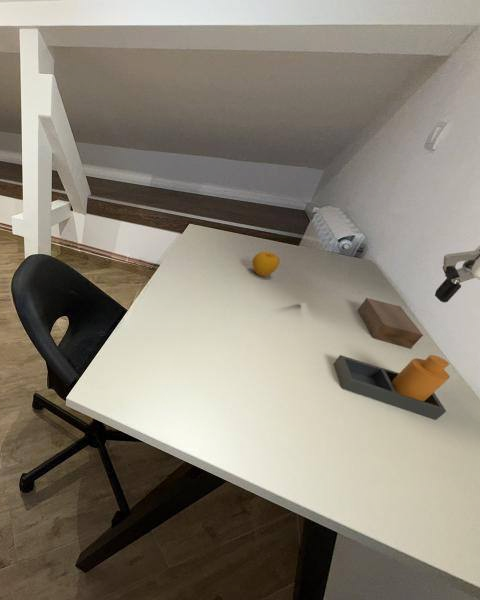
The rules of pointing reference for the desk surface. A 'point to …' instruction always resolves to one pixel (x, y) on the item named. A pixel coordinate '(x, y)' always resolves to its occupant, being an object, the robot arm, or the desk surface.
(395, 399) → the grey divided tray
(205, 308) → the desk surface
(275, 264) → the apple
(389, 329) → the wooden block
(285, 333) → the desk surface
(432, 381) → the bottle
